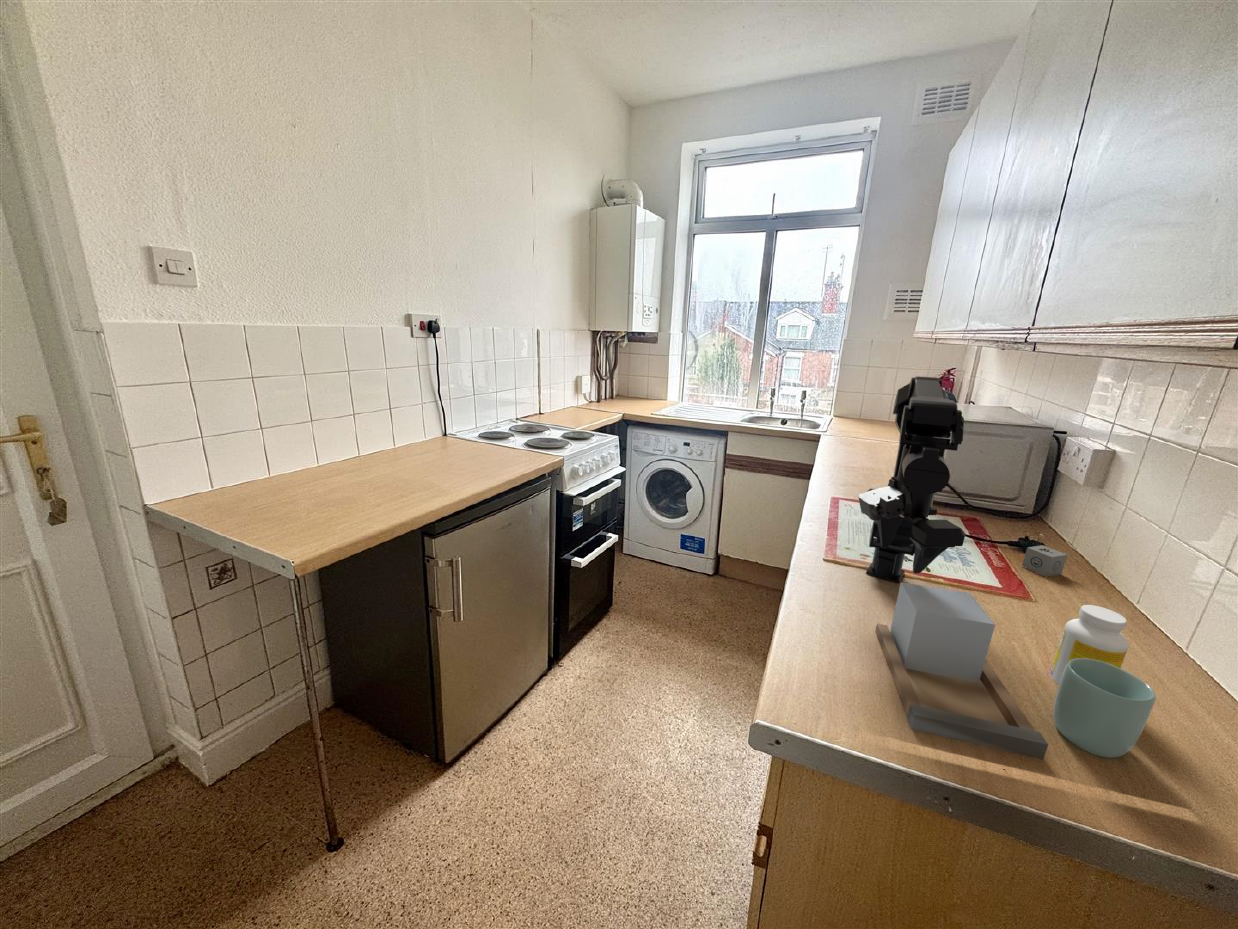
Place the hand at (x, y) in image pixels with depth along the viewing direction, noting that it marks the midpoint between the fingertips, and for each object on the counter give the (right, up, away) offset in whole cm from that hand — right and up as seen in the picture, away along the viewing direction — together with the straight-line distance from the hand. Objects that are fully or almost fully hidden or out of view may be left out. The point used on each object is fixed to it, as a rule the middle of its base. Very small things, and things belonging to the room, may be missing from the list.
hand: (899, 559), depth 83 cm
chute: (-1, -16, -13) cm, 21 cm away
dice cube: (+47, -8, +25) cm, 54 cm away
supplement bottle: (+20, -17, -12) cm, 29 cm away
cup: (+11, -20, -22) cm, 31 cm away
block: (+1, -14, -7) cm, 16 cm away
